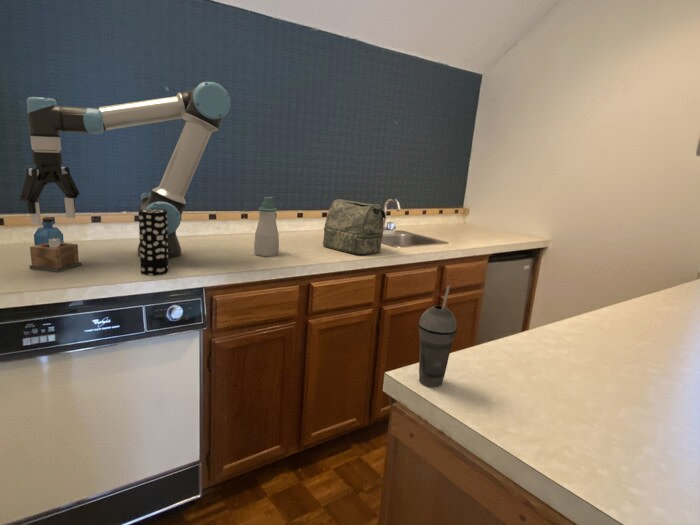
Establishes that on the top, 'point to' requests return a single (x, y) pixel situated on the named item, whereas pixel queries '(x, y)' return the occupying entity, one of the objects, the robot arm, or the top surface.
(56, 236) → the perfume bottle
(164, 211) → the white-spotted black cylinder
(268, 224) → the soap bottle
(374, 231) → the lunch bag
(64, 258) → the open wooden crate
